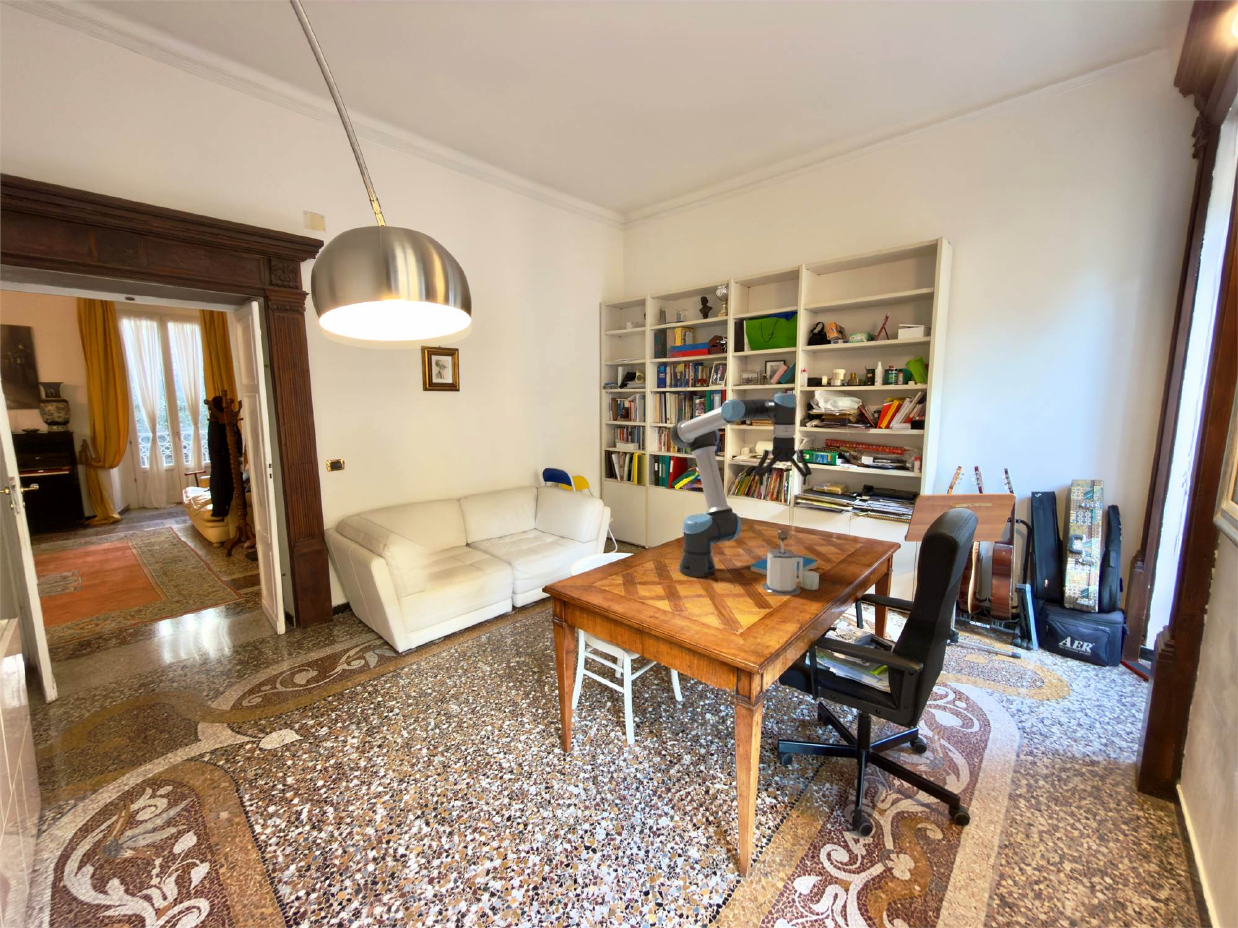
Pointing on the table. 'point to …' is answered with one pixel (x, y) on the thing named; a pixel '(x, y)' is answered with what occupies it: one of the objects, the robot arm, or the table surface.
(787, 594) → the disc
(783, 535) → the plunger
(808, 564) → the book
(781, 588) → the cafetiere
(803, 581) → the espresso cup
